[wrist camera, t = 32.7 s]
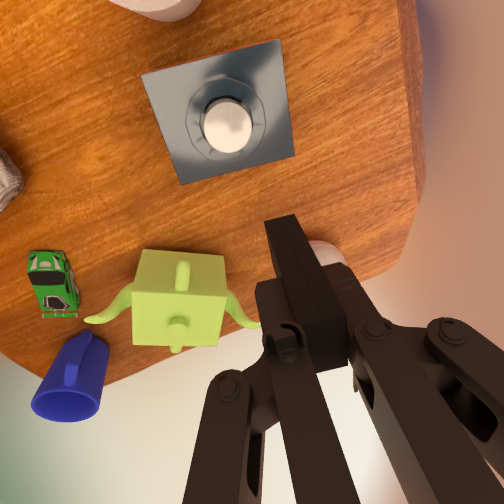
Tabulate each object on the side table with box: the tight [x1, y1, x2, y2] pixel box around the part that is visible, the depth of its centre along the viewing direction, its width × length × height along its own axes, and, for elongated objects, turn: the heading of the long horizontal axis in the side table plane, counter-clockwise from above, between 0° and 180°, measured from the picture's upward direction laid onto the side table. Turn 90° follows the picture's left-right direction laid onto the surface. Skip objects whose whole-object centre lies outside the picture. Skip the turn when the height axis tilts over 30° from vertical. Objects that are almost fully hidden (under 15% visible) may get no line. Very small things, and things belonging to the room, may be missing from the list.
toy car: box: [27, 250, 80, 319], centre depth 39 cm, size 10×5×2 cm, turn 174°
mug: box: [31, 330, 109, 422], centre depth 43 cm, size 8×12×10 cm
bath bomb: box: [309, 240, 347, 266], centre depth 40 cm, size 8×8×8 cm
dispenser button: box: [203, 98, 252, 153], centre depth 26 cm, size 4×4×2 cm
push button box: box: [140, 38, 295, 185], centre depth 29 cm, size 12×10×6 cm
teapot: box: [84, 249, 261, 353], centre depth 38 cm, size 15×13×11 cm
